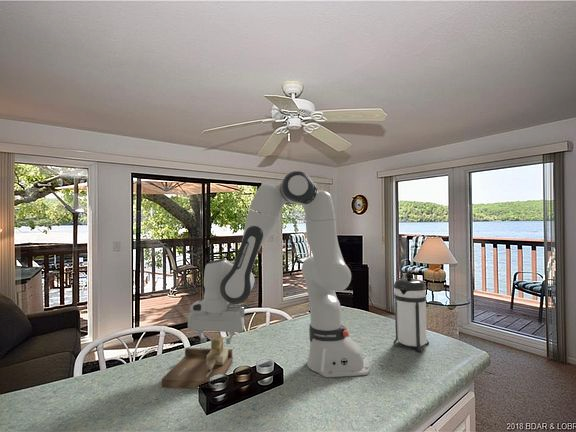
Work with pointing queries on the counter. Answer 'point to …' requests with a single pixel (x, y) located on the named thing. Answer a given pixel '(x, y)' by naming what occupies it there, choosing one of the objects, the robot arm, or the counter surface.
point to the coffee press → (410, 312)
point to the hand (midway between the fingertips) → (216, 343)
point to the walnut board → (194, 369)
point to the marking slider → (216, 353)
